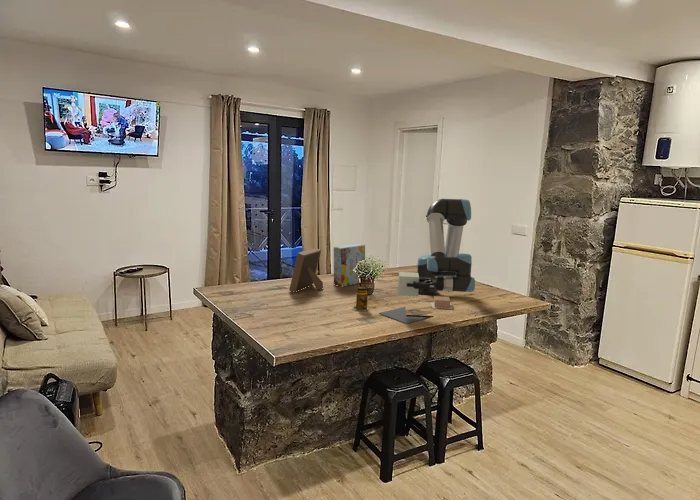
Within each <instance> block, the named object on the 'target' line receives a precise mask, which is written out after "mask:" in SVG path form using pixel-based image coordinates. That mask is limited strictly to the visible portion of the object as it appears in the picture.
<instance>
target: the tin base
mask: <svg viewBox="0 0 700 500" xmlns="http://www.w3.org/2000/svg"><path fill="white" fill-rule="evenodd" d="M430 304H431V309H445V310H453V309H454V308H453V306H452V303H451V299H450V297H449V296H437V295H436V296H435V295H433V301H432V302H430Z"/></svg>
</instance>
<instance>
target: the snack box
mask: <svg viewBox="0 0 700 500" xmlns="http://www.w3.org/2000/svg"><path fill="white" fill-rule="evenodd" d="M362 260H365V261H366V245H365V244H362V243H361V244H360V243H353V244H346V245H339V246H334V247H333V285H334V284H335V285H338V286H337V287H339V286H341V287H340V288H343V287H342V286H345V287H348V286H347V285H349V286H352V284H354V285H358V284H360V283H359V277H358V275H357V274H355V273H354V272H353V269H354V268H355V267H356V265H357V263H358V261H362ZM357 283H358V284H357ZM335 285H334V286H335Z"/></svg>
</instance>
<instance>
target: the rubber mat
mask: <svg viewBox="0 0 700 500" xmlns="http://www.w3.org/2000/svg"><path fill="white" fill-rule="evenodd" d="M406 309H407V308H406V306H403V307H399V308H394V309H389V310H385V311H381V312H378V314H379V315H380V316H383V317H386V318H388V319H392V320H394V321H397V322H399V323H402V324H405V325H408V324H412V323H417V322H420V321H423V320H428V319H431V318H434V316H433V315H423V314H421V315H419V314H407V311H406Z"/></svg>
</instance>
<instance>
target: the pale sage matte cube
mask: <svg viewBox="0 0 700 500" xmlns="http://www.w3.org/2000/svg"><path fill="white" fill-rule="evenodd" d="M400 281H402V282H413V281H415V283H416V282H418V283H419V275H418V273H417V272H409V271H407V272H405V271H399V272H398V287H397V290H398V291H397V293H398V294H397V295H398V296H405V297H419V294H418V289H415V288H413V287H400Z"/></svg>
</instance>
